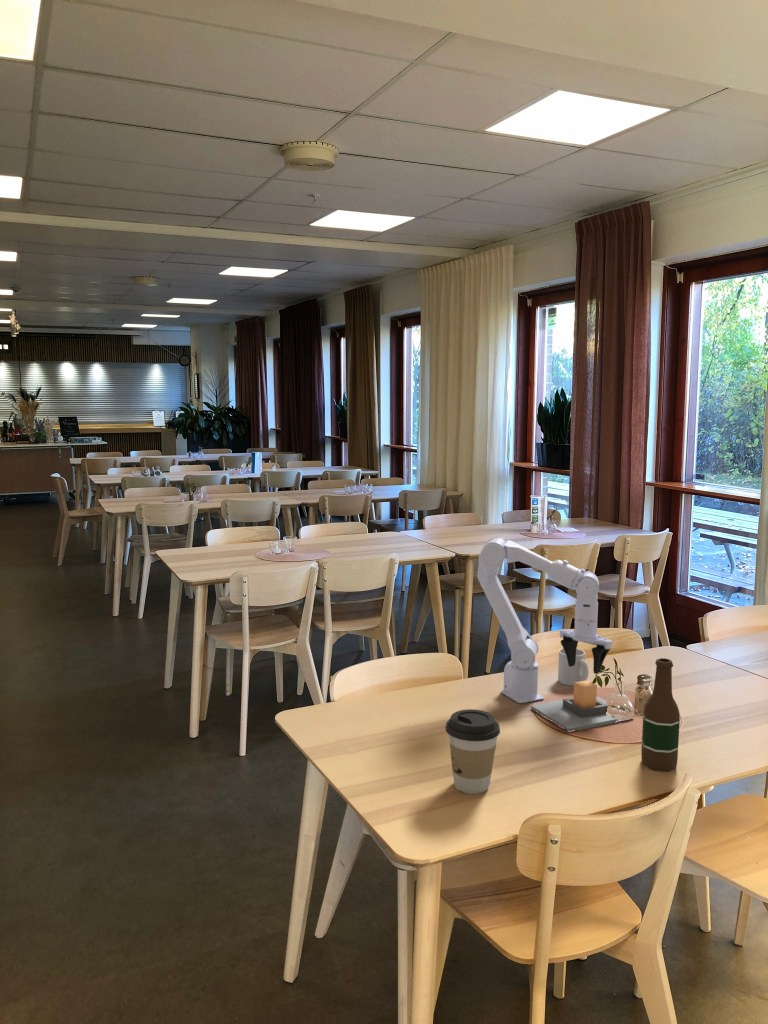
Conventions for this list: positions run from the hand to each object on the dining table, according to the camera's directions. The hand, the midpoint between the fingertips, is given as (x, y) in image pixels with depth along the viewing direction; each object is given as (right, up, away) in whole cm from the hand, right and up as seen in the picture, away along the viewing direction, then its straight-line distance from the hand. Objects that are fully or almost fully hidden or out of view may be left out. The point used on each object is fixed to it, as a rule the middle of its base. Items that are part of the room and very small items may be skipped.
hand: (584, 669), depth 214 cm
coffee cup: (-34, -16, -44) cm, 58 cm away
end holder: (-2, -10, -6) cm, 12 cm away
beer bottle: (+8, -15, -34) cm, 38 cm away
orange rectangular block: (-1, -9, -6) cm, 11 cm away
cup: (+1, -7, +16) cm, 18 cm away
